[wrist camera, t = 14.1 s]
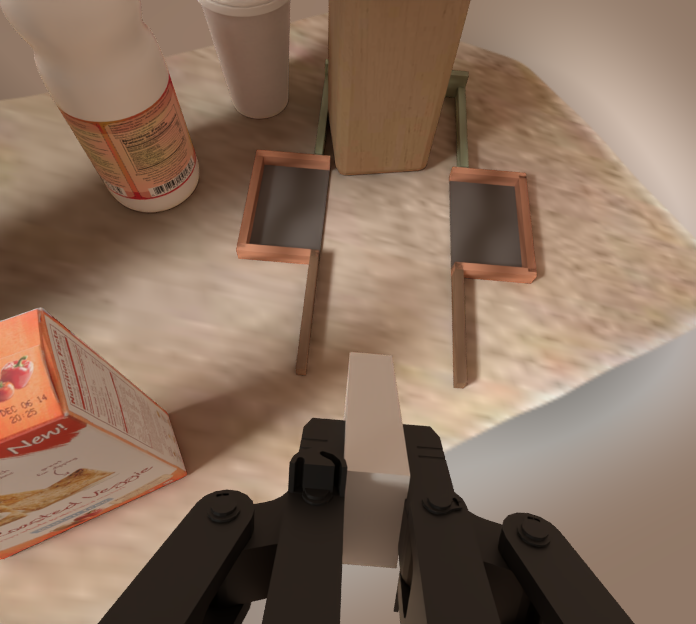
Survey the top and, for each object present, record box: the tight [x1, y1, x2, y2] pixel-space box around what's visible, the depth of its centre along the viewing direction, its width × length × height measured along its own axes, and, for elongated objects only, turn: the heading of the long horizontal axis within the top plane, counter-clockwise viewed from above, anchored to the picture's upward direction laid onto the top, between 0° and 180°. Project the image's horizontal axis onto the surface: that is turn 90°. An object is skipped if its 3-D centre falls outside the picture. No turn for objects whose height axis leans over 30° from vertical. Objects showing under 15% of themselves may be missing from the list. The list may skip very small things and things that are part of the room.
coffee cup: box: [197, 0, 290, 119], centre depth 50 cm, size 10×10×15 cm
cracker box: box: [0, 307, 187, 559], centre depth 29 cm, size 14×6×21 cm, turn 115°
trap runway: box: [236, 59, 537, 388], centre depth 49 cm, size 29×37×3 cm
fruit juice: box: [0, 0, 199, 212], centre depth 39 cm, size 9×9×28 cm
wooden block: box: [328, 0, 470, 175], centre depth 46 cm, size 10×10×20 cm
